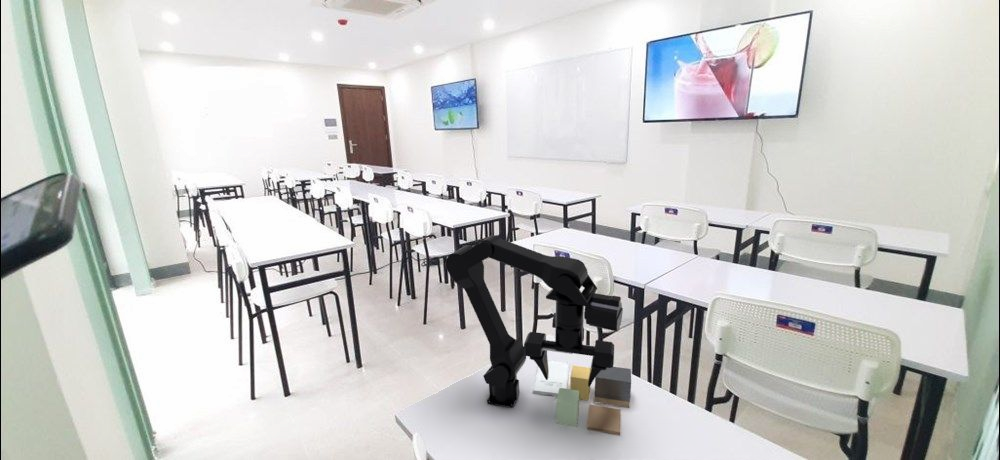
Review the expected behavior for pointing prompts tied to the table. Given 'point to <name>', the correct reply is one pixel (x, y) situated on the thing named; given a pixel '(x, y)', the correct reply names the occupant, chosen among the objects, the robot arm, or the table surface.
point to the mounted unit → (613, 386)
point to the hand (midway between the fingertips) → (567, 381)
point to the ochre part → (580, 381)
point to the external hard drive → (552, 379)
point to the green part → (567, 407)
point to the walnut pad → (604, 419)
